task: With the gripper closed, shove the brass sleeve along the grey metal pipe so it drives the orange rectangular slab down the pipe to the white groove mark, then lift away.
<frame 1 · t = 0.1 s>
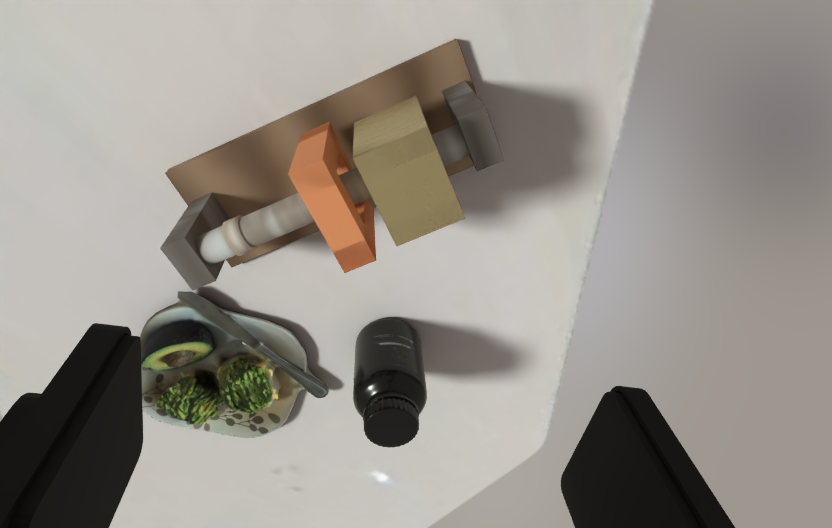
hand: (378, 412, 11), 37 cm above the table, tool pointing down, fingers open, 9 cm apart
salad plate: (219, 362, 57), on the table
pipe rack: (335, 160, 47), on the table
supplement bottle: (387, 340, 57), on the table
orange rectangular slab: (336, 194, 40), point 8 cm above the table, slide at 0.0 cm
sleeve: (406, 168, 38), point 9 cm above the table, slide at 0.0 cm
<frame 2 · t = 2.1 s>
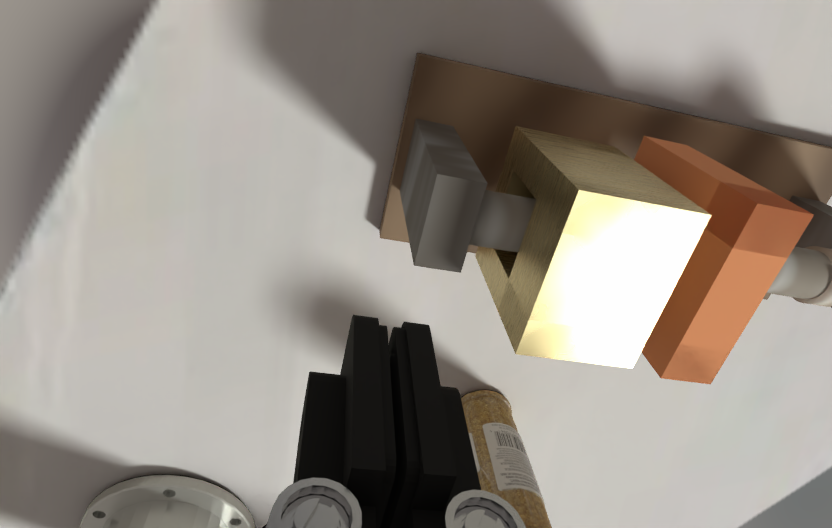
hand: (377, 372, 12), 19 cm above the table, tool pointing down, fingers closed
pipe rack: (612, 189, 32), on the table
sprinkles bottle: (479, 409, 40), on the table
orange rectangular slab: (675, 251, 25), point 8 cm above the table, slide at 0.0 cm
sleeve: (570, 239, 23), point 9 cm above the table, slide at 0.0 cm
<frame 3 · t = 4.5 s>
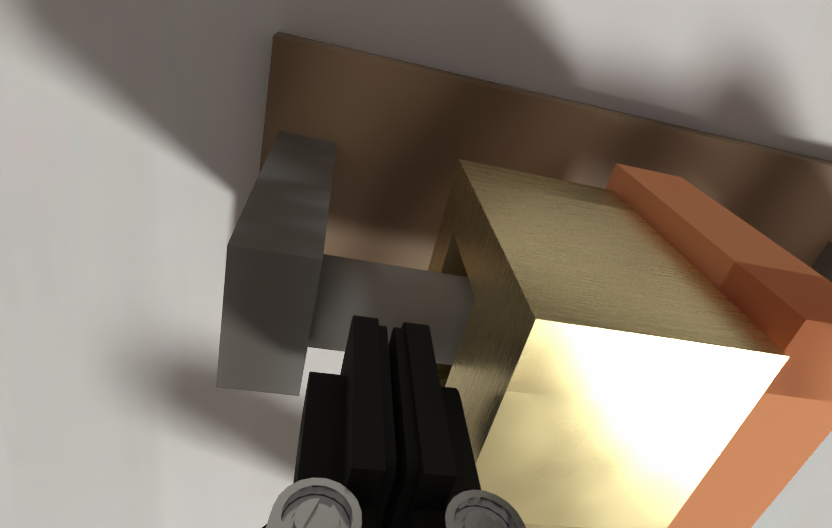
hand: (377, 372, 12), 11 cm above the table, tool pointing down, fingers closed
pipe rack: (578, 230, 23), on the table
orange rectangular slab: (658, 349, 16), point 8 cm above the table, slide at 0.0 cm
sleeve: (538, 346, 14), point 9 cm above the table, slide at 1.5 cm, touching gripper
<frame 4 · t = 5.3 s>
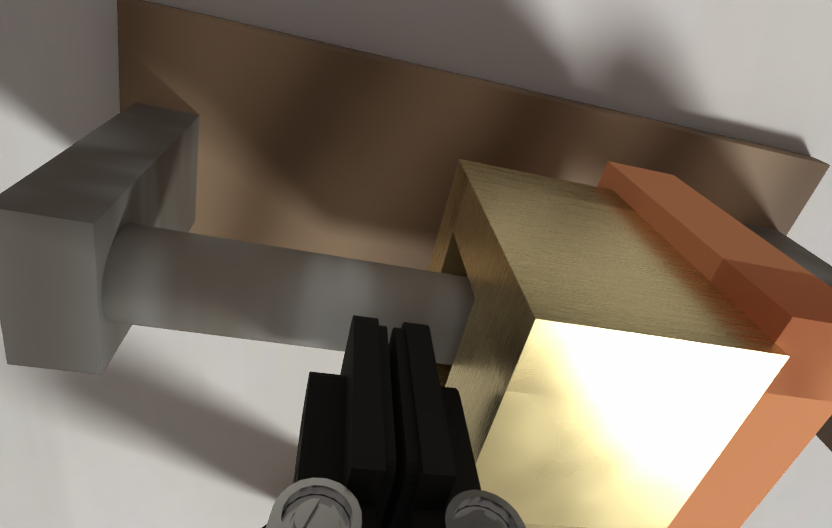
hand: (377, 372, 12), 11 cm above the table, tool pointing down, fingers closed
pipe rack: (474, 211, 22), on the table
orange rectangular slab: (649, 347, 16), point 8 cm above the table, slide at 4.3 cm, touching sleeve
sleeve: (538, 346, 14), point 9 cm above the table, slide at 6.1 cm, touching gripper, orange rectangular slab
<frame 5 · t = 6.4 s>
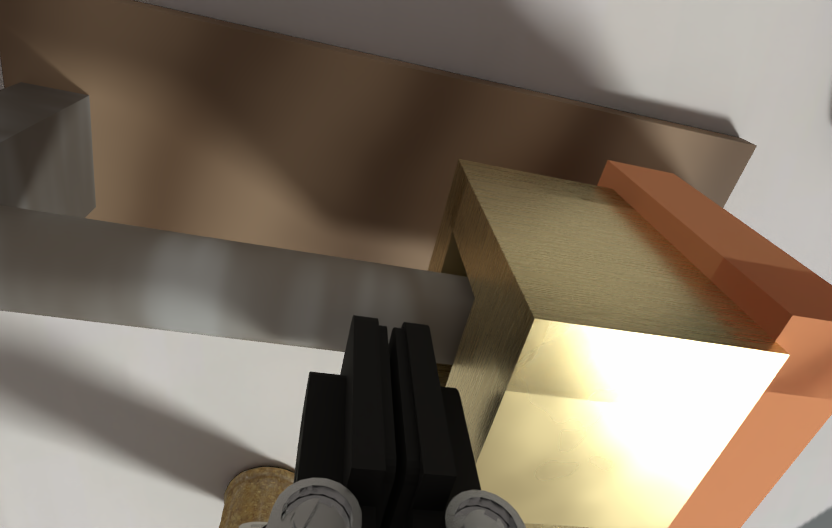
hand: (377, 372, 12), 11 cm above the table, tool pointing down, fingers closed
pipe rack: (392, 196, 21), on the table
sprinkles bottle: (270, 488, 29), on the table
orange rectangular slab: (649, 346, 16), point 8 cm above the table, slide at 7.7 cm, touching sleeve
sleeve: (538, 346, 14), point 9 cm above the table, slide at 9.5 cm, touching gripper, orange rectangular slab
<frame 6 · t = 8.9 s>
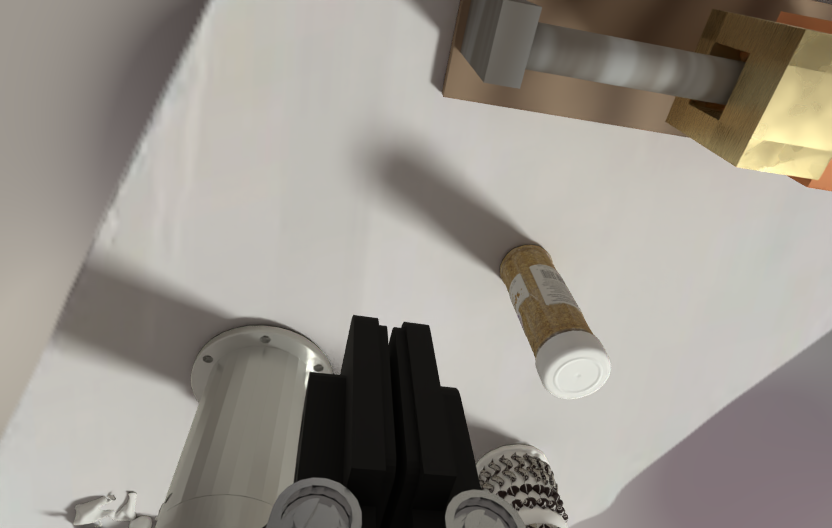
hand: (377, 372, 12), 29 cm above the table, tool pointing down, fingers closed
pipe rack: (639, 50, 37), on the table
sprinkles bottle: (524, 264, 46), on the table
orange rectangular slab: (811, 98, 32), point 8 cm above the table, slide at 7.7 cm, touching sleeve
decorative candle: (510, 468, 60), on the table
sleeve: (763, 90, 31), point 9 cm above the table, slide at 9.5 cm, touching orange rectangular slab
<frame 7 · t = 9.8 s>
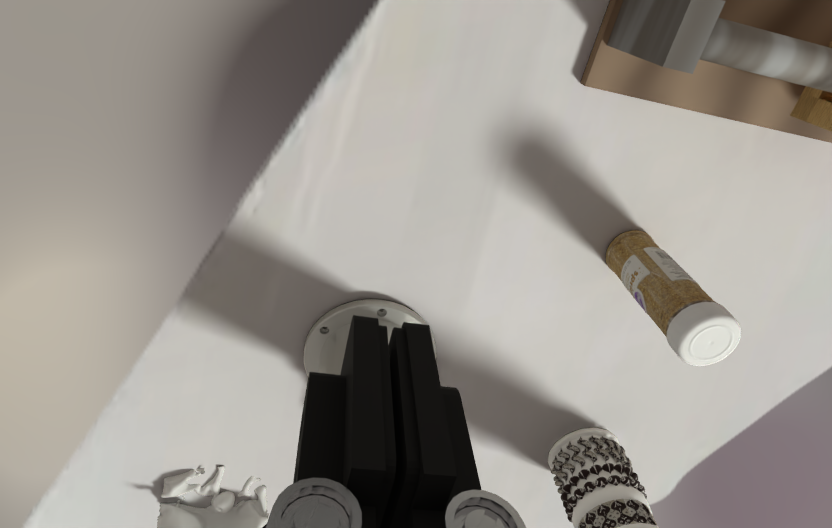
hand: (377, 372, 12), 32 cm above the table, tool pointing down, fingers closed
pipe rack: (760, 52, 41), on the table
sprinkles bottle: (627, 249, 49), on the table
decorative candle: (583, 452, 63), on the table
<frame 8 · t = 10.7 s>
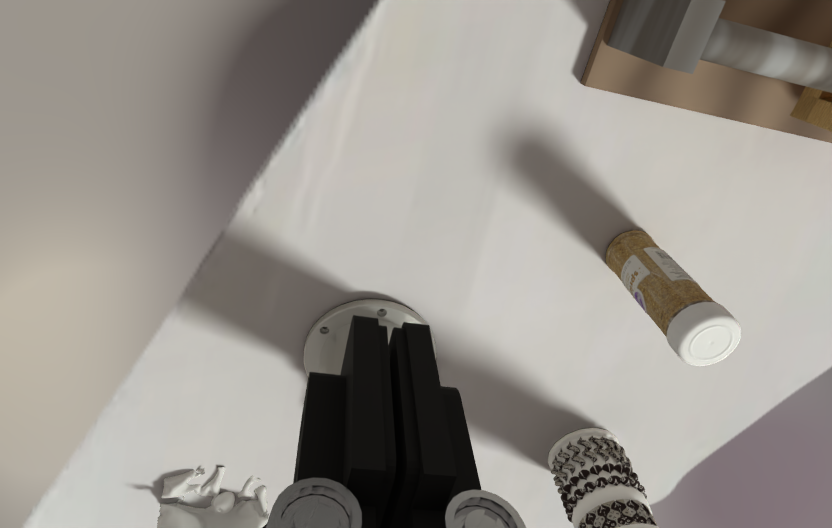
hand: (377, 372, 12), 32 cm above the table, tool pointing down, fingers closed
pipe rack: (760, 52, 41), on the table
sprinkles bottle: (627, 250, 49), on the table
decorative candle: (583, 452, 63), on the table
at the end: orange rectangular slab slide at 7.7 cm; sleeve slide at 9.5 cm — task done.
